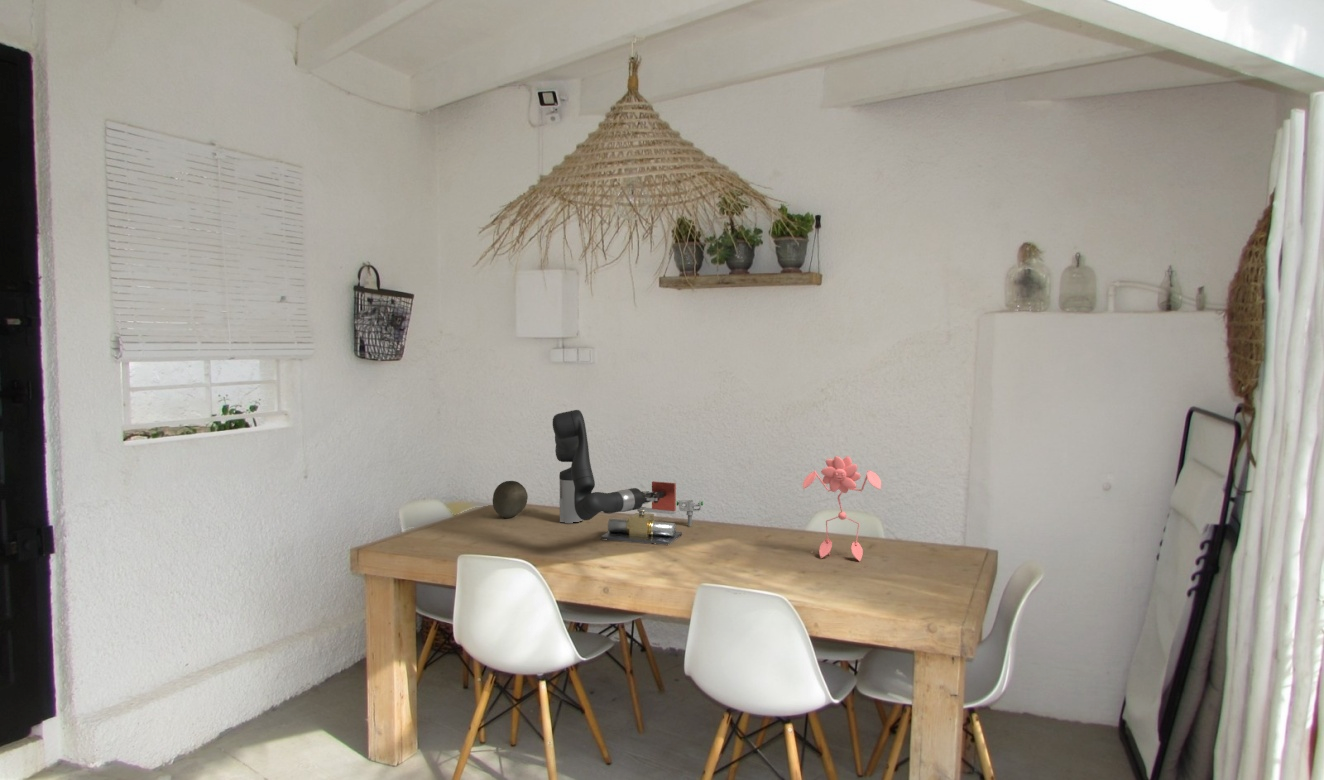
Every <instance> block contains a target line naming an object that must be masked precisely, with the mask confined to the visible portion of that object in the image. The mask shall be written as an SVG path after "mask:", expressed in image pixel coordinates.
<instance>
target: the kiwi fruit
mask: <svg viewBox="0 0 1324 780" xmlns="http://www.w3.org/2000/svg"><path fill="white" fill-rule="evenodd" d="M492 495H493V496H492V506H493V509H494V511H495V512H496V514H497V515H498V516H500V517H502V518H504V519H510V518H513V517H516V516H518V515H519V514H520V513H521V512H522V511H523V510H524V509H525V507H526V506H527V504H528V497H529V496H528V492H527V490H526V487H525V486H523V484H522V483H520V482H519V481H516V480H505V481H503V482H501V483H500V484H498V485H497V486H496V488H495V490H494V492H493V494H492Z"/></svg>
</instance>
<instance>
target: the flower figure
mask: <svg viewBox="0 0 1324 780" xmlns="http://www.w3.org/2000/svg"><path fill="white" fill-rule="evenodd" d="M825 464H826V467H824V468H822V470H820V473H821V474H822V475H823V478H821V477H820V476H819V474H818V473H817V470H813V472H810V473H809V474H808V475H807V476H806V477H805V478H804V480H803V482H802V489H803V490H805V489H807V488H808V487H810V486H811V485H812V484H813V483H814V481H815V480H816V477H817V479H818V480H819V481H820V483H821V484H822V485H823V487H824V488H825V489H826V490H827V492H832V493H835V492H837V491H838V490H840V492H839V494H838V495H837V502H838V505H839V508H840V511H839V512H838V515H837V516H835V517H833V518H830V519H827V520H826V521H825V528H826V539H824V540H823V541H822V542H821V544H820V545H819V549H818V551H819V558H820V559H823V558H824V557H826V556H831V550H832V547H833V541H832V540H831V539H830V538H829V532H828V531H829V530H828V522H830V521H833V520H835V519H839V520H841V521H844V520H846V519H847V520H849V521H851V522H853V523H856V524H857V529H856V538H855V541H853V542H852V543H851V547H850V551H851V553H852V556H853V557H854V558H855V559H856V560H858V562H861V560H862V557H863V555H864V554H863V553H864V550H863V547H862V546H861V544H860V543H859V542H858V537H859V529H860V522H858V521H855V520H853V519H852V518H849V517H847V513H846V511H843V506H842V504H841V499H840V497H841V495H842V494H847V493H848V491H849V490H850V491H851V490H852V491H855V492H863V490H864V487H865V485H866V482H867V480H868V482H869V484H870V485H871V486H873V487H874V488H875V489H877V490H881V489H882V480H881V478H880V476H879V475H878V474H877V473H875V472H874V471H871V470H870V469H867V472H866V476H865V478H864V481H863V483H862V486H861V489H860V488H857V483H856V481H858V480H859V479H861V477H862V475H861V473H859V472H857V471H858V465H857V464H856V463H854V464H853V460H852V458H851V457H850V456H845V457H844V458H841V457H839V456H837V455H836V456H834V457H833V459H832V458H827V459H825ZM828 484H829V488H828V487H827V485H828ZM812 553H813V551H811V552H810V554H812Z"/></svg>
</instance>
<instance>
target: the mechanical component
mask: <svg viewBox="0 0 1324 780" xmlns="http://www.w3.org/2000/svg"><path fill="white" fill-rule="evenodd" d="M683 505H685V506H683ZM703 505H704V501H701V500H699V501H698V503H697V504H695V503H694V500H693V499H692V500H691V499H690V500H688V499H687V500H686V499H685V500H683V499H680V500H678V501H677V500H676V506H678V509H679V511H681V512H686V515H687V527H688V526H691V527H692V525H693V522H692V519H693V518H692V517H693V515H694V513H693V512H699V511H701V510H702V506H703ZM694 507H695V508H694ZM697 507H698V508H697Z"/></svg>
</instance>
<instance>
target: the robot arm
mask: <svg viewBox="0 0 1324 780" xmlns="http://www.w3.org/2000/svg"><path fill="white" fill-rule="evenodd" d="M583 415H584V414H583V413H582V411H581V410H580V409H573V410H569V411H568V410H567V411H564V412H558V413H556V414H555V415H554V416H553V418H552V430H553V432H554V442H555V457H556V460H557V461H559V462H561V463H571V467H568V468H566V469H563V470H561V471H560V472H559V479H558V480H559V523H560V522H565V523H564V524H574V523H573V522H579V521H582V520H583V521H589V520H592V519H593V518H594V517H596V516H597V515H598V514H599V513H601V512H603V513H604V514H615V513H624V512H631V511H637V509H640V508H641V507H643V505H647V504H649V503H652V502H654V503H658V501H659V498H664V491H658V492H653V491H652V490H651V491H649V490H644V491H642V490H640V489H639V488H637V487H633V488H632V487H631V488H624V489H621V490H617V491H612V492H601V491H594V489H595V487H596V485H595V483H596V482H595V478H594V473H593V470H592V466H591V465H592V464H591V459H590V450H589V449H590V448H589V441H588V435H587V428H586V423H585V418H584V416H583ZM593 491H594V492H593ZM583 521H582V522H583ZM579 523H580V522H579Z"/></svg>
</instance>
